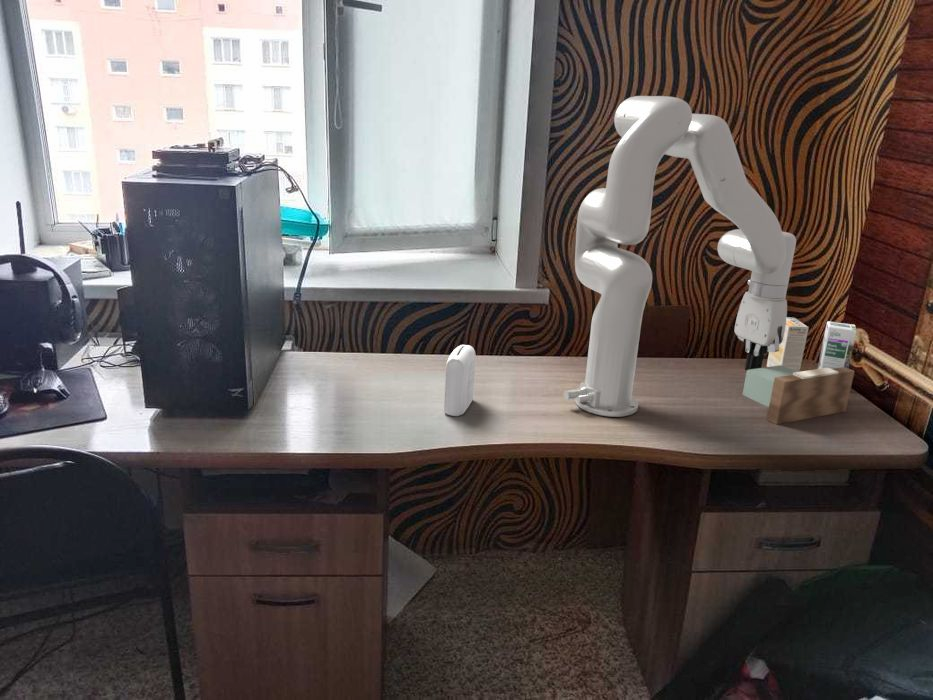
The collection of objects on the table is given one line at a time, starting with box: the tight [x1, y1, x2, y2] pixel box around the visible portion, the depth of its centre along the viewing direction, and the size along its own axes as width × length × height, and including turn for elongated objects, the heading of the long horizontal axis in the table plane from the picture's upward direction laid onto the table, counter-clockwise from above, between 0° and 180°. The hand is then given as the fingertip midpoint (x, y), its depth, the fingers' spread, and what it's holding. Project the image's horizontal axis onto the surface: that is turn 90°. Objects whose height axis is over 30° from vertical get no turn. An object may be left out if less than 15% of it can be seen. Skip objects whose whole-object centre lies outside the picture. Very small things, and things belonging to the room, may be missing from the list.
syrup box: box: [816, 320, 857, 369], centre depth 168 cm, size 6×6×14 cm
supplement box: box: [766, 316, 810, 372], centre depth 173 cm, size 8×5×13 cm, turn 179°
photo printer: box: [443, 344, 477, 417], centre depth 145 cm, size 10×4×12 cm, turn 166°
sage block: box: [741, 365, 796, 408], centre depth 158 cm, size 10×12×6 cm
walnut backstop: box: [766, 367, 855, 425], centre depth 151 cm, size 20×3×9 cm, turn 116°
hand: (752, 370), depth 164 cm, fingers closed
